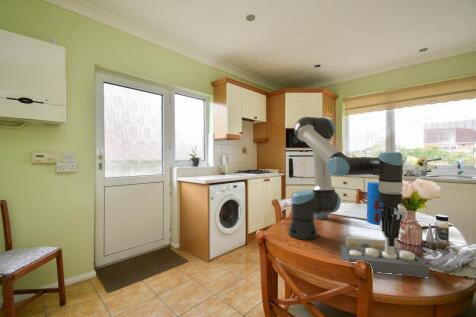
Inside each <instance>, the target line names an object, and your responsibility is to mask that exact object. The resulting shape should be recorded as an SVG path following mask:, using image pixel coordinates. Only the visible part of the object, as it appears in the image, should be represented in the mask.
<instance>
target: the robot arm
mask: <svg viewBox="0 0 476 317" xmlns="http://www.w3.org/2000/svg"><path fill="white" fill-rule="evenodd" d="M293 127H294V128H293V132H294V135H295V137H297V139H299V140H300V141H301V142H304V143H305V144H306V145H307V146H308V147H309V148H311V150H312V155H313V156H312V157H313V173H314V187H313V188H312V190H311V189H310V190H309V189H307V190H304V189H302V190H296V191H294V192H293V193H292V194H291V219H290V220H291V221H290V223H289V226H288V230H287V233H288V236H290V237H292V238H293V239H299V240H305V241H307V240H314V239H316V238H318V229H317V226H316V223H315V218H314V215H315V214H327V215H328V214H329V215H330V214H334V213H336V212H338V210H339V209H340V207H341V203H342V202H341V197H340V195H339V193H337V191H336V188H335V187H333V186H332V185H333V184H332V176H334V177H335V176H339V177H344V176H345V177H346V176H378V183H379V191H380V192H379V201H380V202H382V203H383V207H380V212H381V223H382V231H383V232H384V234H385V236H384V240H385V253H386V254H395V241H396V240H395V238H398V236H399V230H400V223H401V219H402V214H399V213H398V204H402V205H403V194H402V193H403V187H404V184H403V172H404V156H403V154H402V153H401V152H397V151H395V152H394V151H392V152H389V151H387V152H385V151H384V152H380V153H379V154H378V157H377V156H376V157H371V156H359V157H357V156H355V157H354V156H352V157H351V156H350V157H349V156H347V155H346V154H344V153H343V152H342V151H341V150H340V149H339V148H337V147H336V146H334V145H333V144H332V143H331V141H332V138H333V136H334V135H335V133H336V125H335V122H334V121H333V120H332V119H330V118H328V117H315V116H314V117H312V116H304V117H301V118H298V120H297V121H296V122H295V124H294V126H293Z"/></svg>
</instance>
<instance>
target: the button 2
mask: <svg viewBox="0 0 476 317" xmlns="http://www.w3.org/2000/svg"><path fill="white" fill-rule="evenodd" d="M365 254H366V255H367V256H368V257H379V251H378V250H377V249H374V248H365Z"/></svg>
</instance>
